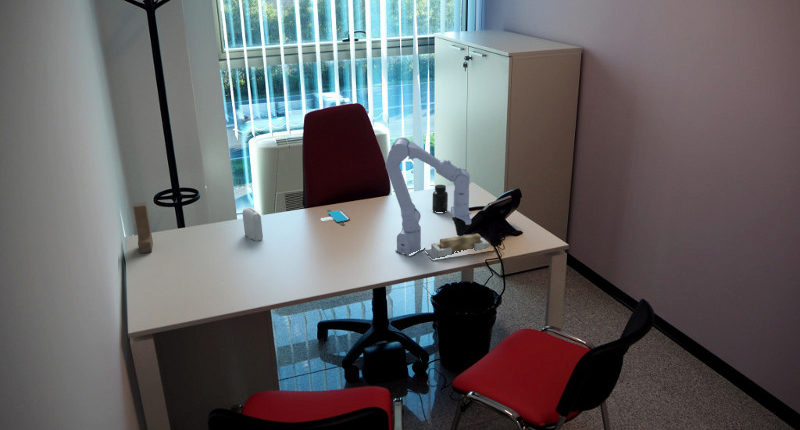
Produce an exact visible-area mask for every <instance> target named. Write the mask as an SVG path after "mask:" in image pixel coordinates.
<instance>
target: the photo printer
mask: <svg viewBox="0 0 800 430" xmlns="http://www.w3.org/2000/svg"><path fill="white" fill-rule="evenodd" d="M242 220H243V221H242V222H243V230H244V235H246V237H248V238H250V239H251V240H253V241H256V242H259V241H261V240H263V238H264V237H263V236H264V235H263V234H264V233H263V224H262V217H261V214H260V212H259V211H258V210H256V209H254V208H252V207H245V208H244V209H243V210H242Z"/></svg>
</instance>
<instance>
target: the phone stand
mask: <svg viewBox="0 0 800 430" xmlns="http://www.w3.org/2000/svg"><path fill="white" fill-rule="evenodd" d="M326 211H327V212H328V215H330V216H326V217H321V218H320V221H321V222H329V221H336V223H338V224H339V225H341V226H346V224H345V222H346V221H350V220H351V218H350V216H348V215H347V214H346V213H345V212H344V210H342V209H341V210H334V211H332V210H331V209H326Z"/></svg>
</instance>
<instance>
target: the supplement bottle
mask: <svg viewBox="0 0 800 430" xmlns="http://www.w3.org/2000/svg"><path fill="white" fill-rule="evenodd" d="M446 188H447V186H446V185H444V184H436V185H434V191H433V192H432V203H431V204H432V207H431V208H432V210H433V211H436V212H445V211H447V212H448V207H449V206H448V205H449V204H448V202H449V201H448V200H449V194H448V191H447V189H446ZM433 211H432V212H433Z"/></svg>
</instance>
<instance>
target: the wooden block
mask: <svg viewBox="0 0 800 430" xmlns="http://www.w3.org/2000/svg"><path fill="white" fill-rule="evenodd" d="M132 207H133V214H134V219H135V226H136V232H137V240H138V241H137V247H138V252H139V254H148V253H152V252H153V245H154V241H153V240H154V239H153V236H152V235H153V234H152V229H151V228H152V227H151V223H150V222H151V221H150V218H149V210H148V206H147V202H146V201H145V202H144V201H143V202H136V203H135V202H134V203H133V206H132Z"/></svg>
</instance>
